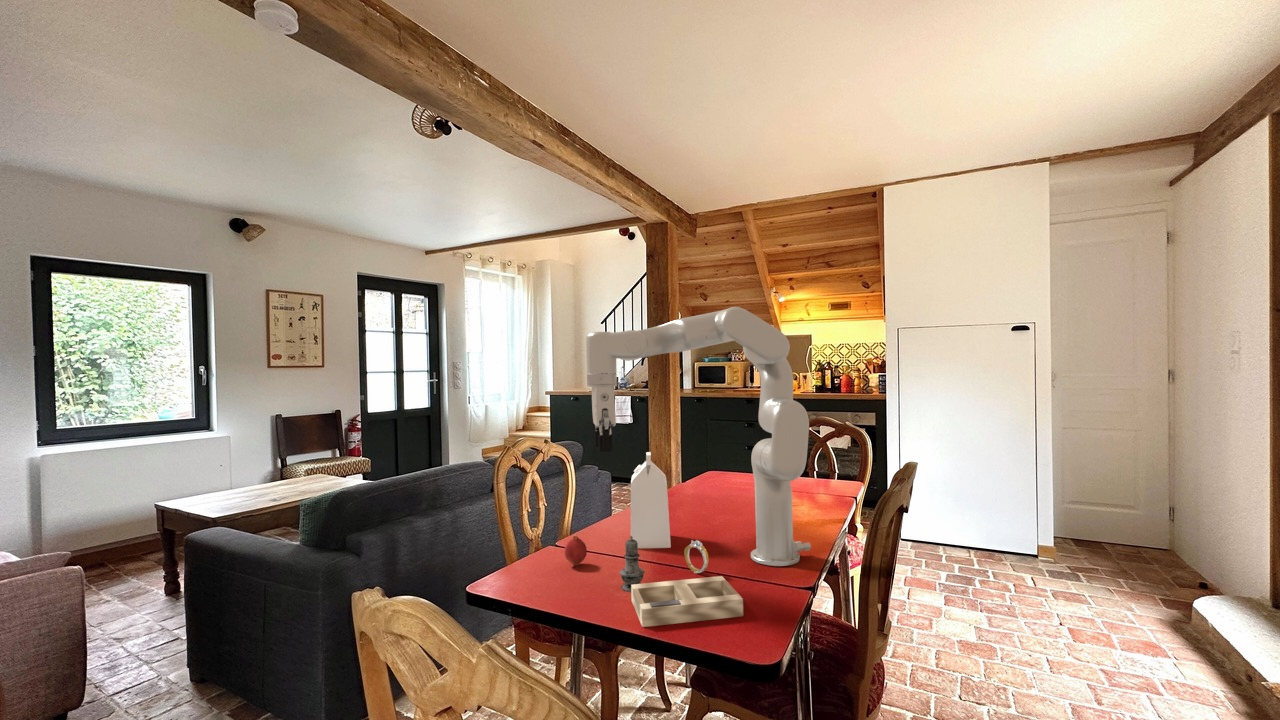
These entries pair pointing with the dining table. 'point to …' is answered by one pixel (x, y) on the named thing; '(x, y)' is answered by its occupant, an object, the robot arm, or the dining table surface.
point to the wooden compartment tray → (685, 601)
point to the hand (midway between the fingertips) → (603, 448)
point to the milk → (649, 506)
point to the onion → (575, 551)
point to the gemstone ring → (704, 554)
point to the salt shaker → (631, 566)
